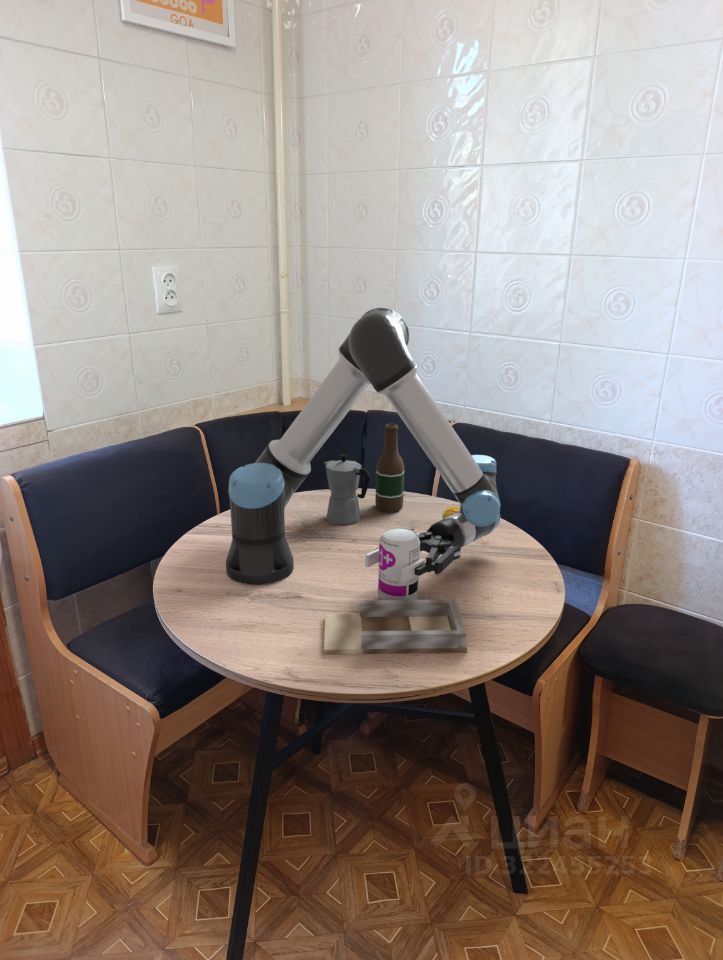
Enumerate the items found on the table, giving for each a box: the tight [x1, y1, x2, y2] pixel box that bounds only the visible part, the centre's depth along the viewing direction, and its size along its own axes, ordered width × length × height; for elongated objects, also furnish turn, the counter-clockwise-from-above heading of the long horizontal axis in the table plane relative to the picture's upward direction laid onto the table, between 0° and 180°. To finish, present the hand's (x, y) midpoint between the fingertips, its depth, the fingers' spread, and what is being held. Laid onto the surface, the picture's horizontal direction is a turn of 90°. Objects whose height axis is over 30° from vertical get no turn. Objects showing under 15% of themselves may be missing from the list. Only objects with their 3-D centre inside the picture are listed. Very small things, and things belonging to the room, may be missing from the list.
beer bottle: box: [374, 423, 405, 514], centre depth 181 cm, size 8×8×24 cm
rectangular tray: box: [323, 599, 468, 655], centre depth 125 cm, size 26×12×4 cm, turn 92°
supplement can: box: [377, 526, 421, 600], centre depth 135 cm, size 8×8×15 cm
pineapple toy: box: [441, 506, 460, 520], centre depth 171 cm, size 7×10×5 cm
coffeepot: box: [323, 454, 372, 526], centre depth 174 cm, size 15×9×18 cm, turn 51°
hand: (384, 568), depth 132 cm, fingers open, 9 cm apart
